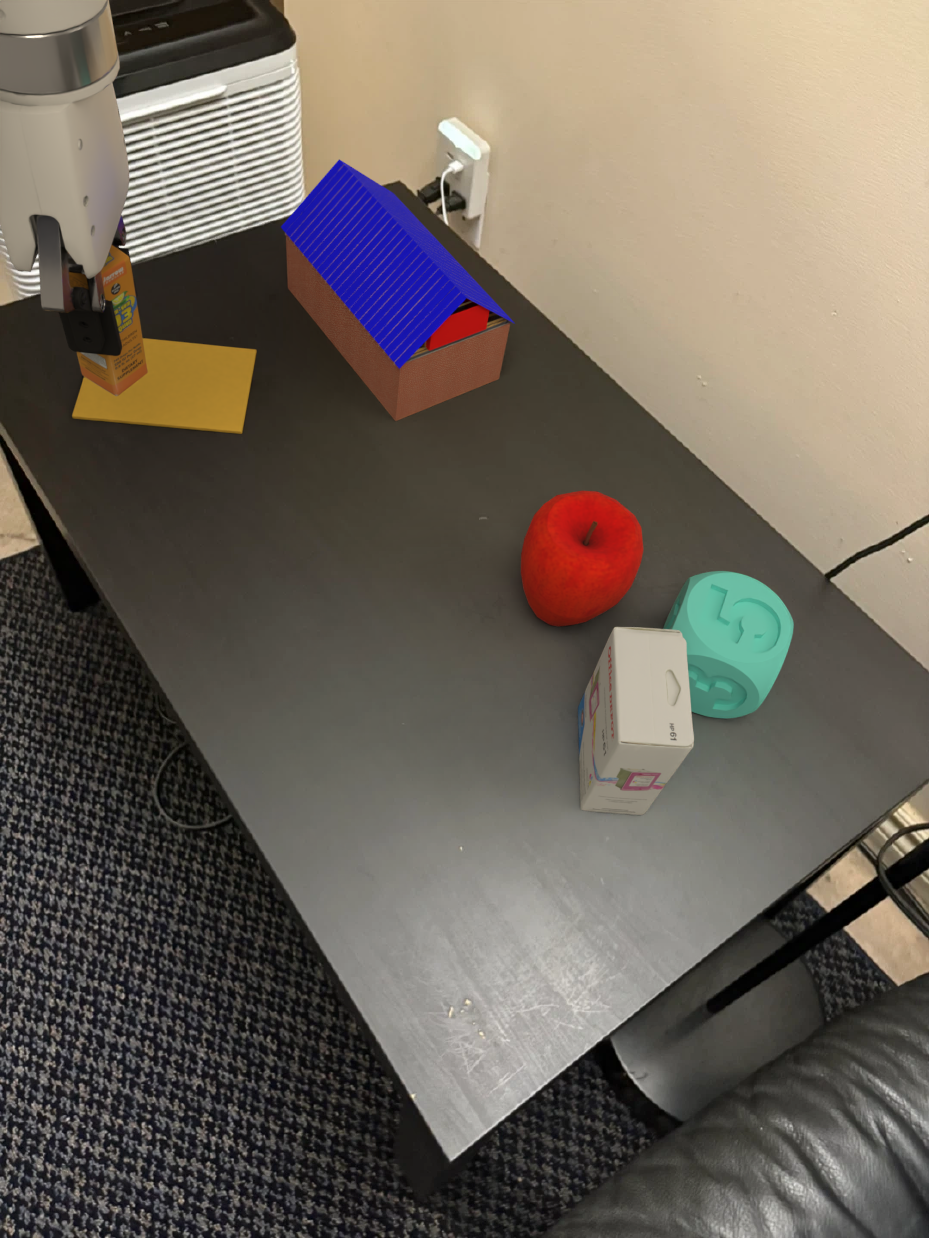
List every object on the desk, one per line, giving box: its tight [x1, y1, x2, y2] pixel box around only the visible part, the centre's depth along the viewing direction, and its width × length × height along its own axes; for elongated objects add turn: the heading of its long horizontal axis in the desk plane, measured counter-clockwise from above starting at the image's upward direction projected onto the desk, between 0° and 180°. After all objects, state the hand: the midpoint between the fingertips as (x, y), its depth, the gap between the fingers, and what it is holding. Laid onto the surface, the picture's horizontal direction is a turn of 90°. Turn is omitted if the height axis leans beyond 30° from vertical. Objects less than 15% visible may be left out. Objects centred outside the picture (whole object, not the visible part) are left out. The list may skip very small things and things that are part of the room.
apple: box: [520, 490, 644, 627], centre depth 73 cm, size 9×9×11 cm
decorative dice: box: [662, 570, 795, 719], centre depth 72 cm, size 8×8×8 cm
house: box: [280, 159, 515, 422], centre depth 86 cm, size 12×20×12 cm, turn 34°
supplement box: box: [69, 245, 148, 396], centre depth 63 cm, size 3×3×10 cm
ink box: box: [577, 626, 695, 816], centre depth 66 cm, size 9×5×12 cm, turn 178°
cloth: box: [71, 337, 258, 435], centre depth 84 cm, size 14×10×1 cm
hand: (104, 322), depth 63 cm, fingers closed on supplement box, 4 cm apart
